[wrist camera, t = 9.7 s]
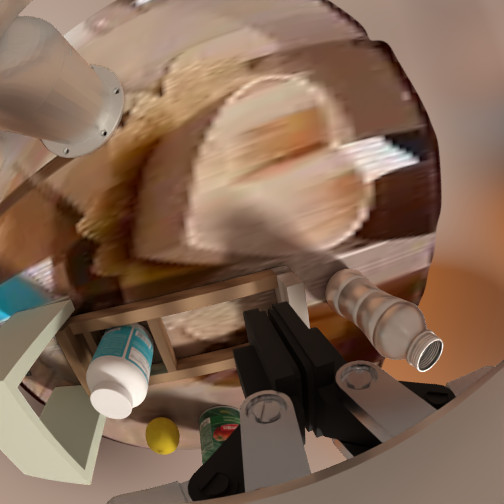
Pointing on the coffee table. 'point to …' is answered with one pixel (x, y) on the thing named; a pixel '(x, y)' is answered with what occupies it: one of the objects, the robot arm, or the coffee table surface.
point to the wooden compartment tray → (88, 325)
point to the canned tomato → (216, 428)
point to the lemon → (162, 435)
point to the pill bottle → (120, 370)
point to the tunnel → (55, 411)
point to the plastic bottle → (384, 319)
